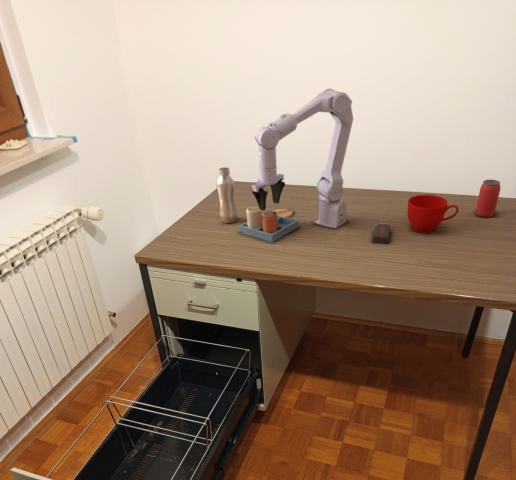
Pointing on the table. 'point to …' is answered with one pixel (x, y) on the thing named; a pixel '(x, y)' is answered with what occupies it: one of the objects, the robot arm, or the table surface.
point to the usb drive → (382, 233)
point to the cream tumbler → (254, 217)
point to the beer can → (488, 198)
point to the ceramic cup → (427, 212)
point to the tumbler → (270, 222)
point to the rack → (283, 228)
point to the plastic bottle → (226, 196)
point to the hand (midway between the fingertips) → (269, 206)
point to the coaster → (283, 212)
